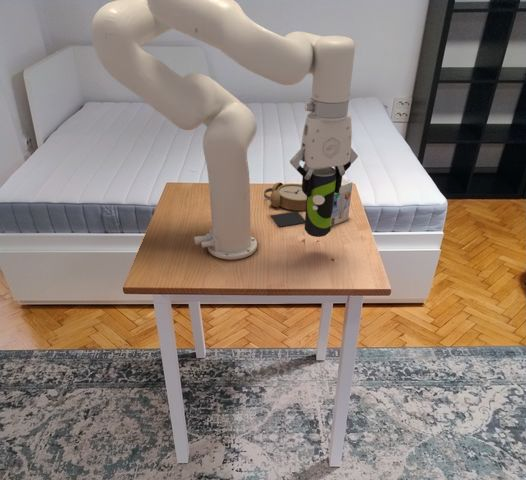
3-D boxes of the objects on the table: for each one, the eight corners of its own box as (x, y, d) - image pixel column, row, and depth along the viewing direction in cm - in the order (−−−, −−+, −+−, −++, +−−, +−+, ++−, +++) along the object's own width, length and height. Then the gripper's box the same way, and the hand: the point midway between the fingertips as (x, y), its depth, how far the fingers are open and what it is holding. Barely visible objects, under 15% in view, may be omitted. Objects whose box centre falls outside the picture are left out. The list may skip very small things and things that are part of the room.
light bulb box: (321, 230, 134) (325, 192, 127) (304, 221, 138) (307, 184, 131) (349, 219, 139) (353, 181, 132) (332, 210, 143) (335, 173, 136)
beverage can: (315, 223, 123) (320, 162, 113) (335, 231, 120) (342, 170, 110) (299, 231, 120) (302, 170, 110) (319, 240, 117) (325, 178, 107)
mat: (279, 227, 135) (279, 226, 135) (270, 216, 140) (270, 215, 140) (306, 223, 137) (306, 222, 137) (297, 212, 142) (297, 211, 142)
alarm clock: (315, 202, 140) (263, 191, 140) (311, 218, 143) (260, 207, 143) (316, 186, 149) (267, 175, 148) (312, 201, 152) (264, 191, 151)
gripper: (296, 116, 96) (291, 204, 108) (375, 110, 101) (362, 195, 113) (282, 106, 102) (279, 190, 114) (359, 99, 106) (348, 182, 118)
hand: (321, 192), depth 113 cm, fingers closed on beverage can, 6 cm apart
